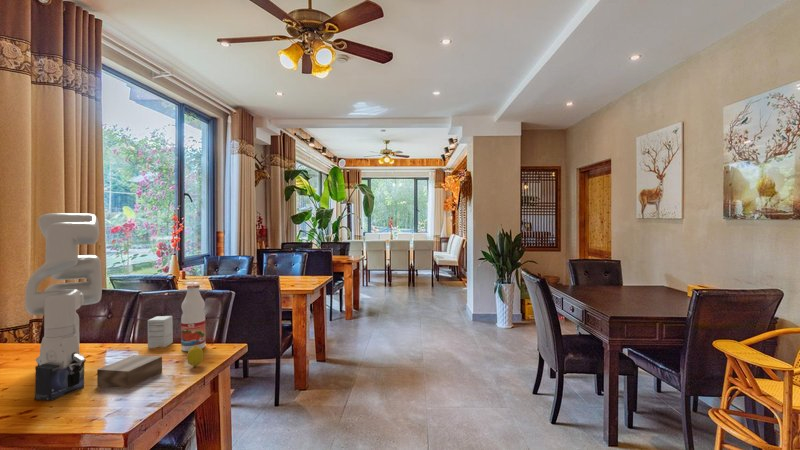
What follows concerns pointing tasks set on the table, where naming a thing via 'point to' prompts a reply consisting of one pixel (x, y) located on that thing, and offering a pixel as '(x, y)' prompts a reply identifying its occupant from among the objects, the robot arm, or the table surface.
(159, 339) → the supplement box
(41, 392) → the small box
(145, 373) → the walnut block
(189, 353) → the lemon
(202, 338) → the fruit juice
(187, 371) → the table surface
